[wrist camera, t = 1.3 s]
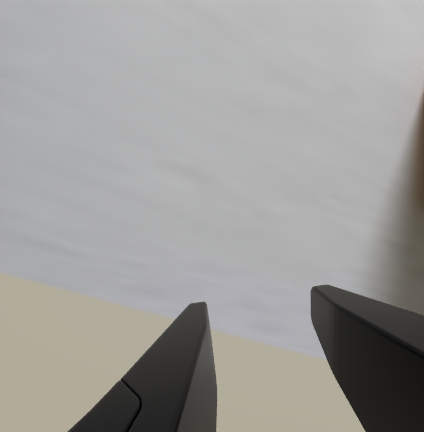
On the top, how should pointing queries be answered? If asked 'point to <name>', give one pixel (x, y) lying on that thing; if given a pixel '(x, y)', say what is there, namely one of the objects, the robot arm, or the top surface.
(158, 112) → the top surface
